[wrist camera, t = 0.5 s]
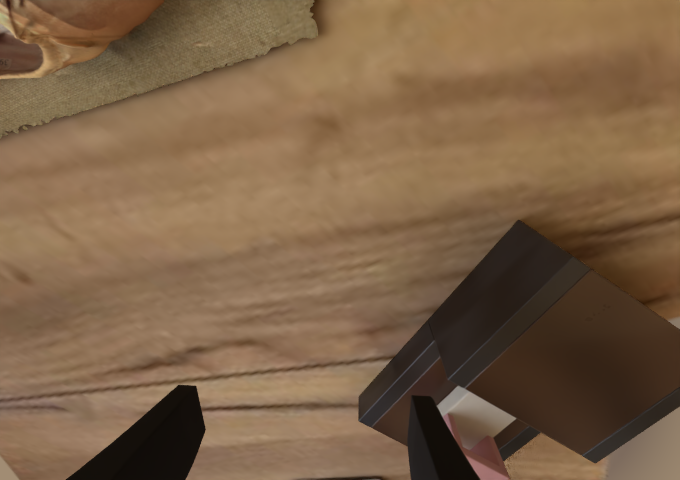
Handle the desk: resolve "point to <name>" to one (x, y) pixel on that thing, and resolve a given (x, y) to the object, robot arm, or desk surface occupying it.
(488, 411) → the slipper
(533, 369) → the dark stepped block
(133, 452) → the robot arm
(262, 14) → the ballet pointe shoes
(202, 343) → the desk surface
